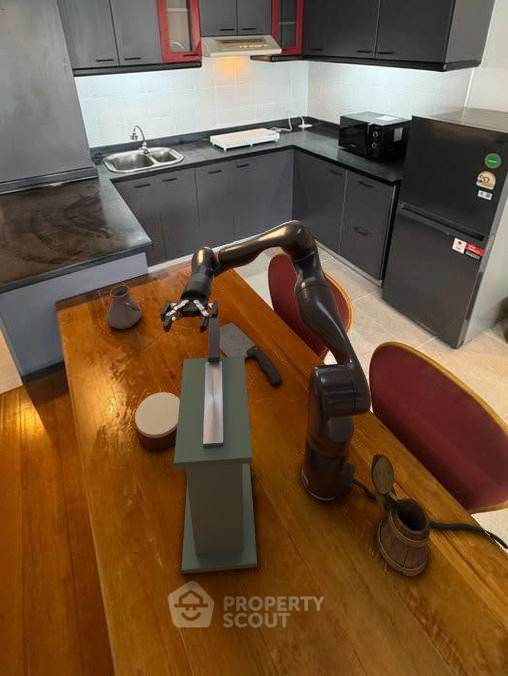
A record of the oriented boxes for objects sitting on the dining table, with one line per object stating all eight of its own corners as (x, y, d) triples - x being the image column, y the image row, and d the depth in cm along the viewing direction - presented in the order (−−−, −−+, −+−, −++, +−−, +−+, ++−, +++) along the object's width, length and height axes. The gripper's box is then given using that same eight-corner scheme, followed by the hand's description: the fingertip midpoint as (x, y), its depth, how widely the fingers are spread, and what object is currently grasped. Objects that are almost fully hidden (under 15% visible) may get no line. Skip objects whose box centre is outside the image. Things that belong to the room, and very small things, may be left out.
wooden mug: (373, 491, 83) (386, 438, 75) (434, 549, 74) (456, 496, 66) (348, 522, 78) (360, 469, 70) (411, 589, 68) (432, 537, 61)
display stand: (189, 458, 89) (178, 359, 75) (248, 454, 90) (249, 355, 76) (182, 574, 70) (166, 470, 56) (257, 567, 71) (259, 463, 57)
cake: (192, 417, 98) (191, 401, 96) (167, 459, 89) (164, 442, 86) (156, 402, 103) (154, 386, 100) (128, 439, 93) (125, 423, 91)
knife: (207, 325, 84) (206, 318, 83) (221, 325, 84) (221, 317, 83) (203, 447, 59) (202, 438, 58) (223, 446, 60) (223, 437, 59)
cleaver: (288, 379, 109) (289, 374, 108) (262, 397, 104) (262, 391, 103) (230, 322, 130) (230, 317, 129) (206, 334, 125) (206, 330, 124)
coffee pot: (102, 319, 132) (95, 284, 125) (134, 305, 138) (128, 271, 132) (127, 356, 117) (120, 319, 110) (161, 339, 123) (156, 302, 117)
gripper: (170, 280, 105) (152, 316, 90) (221, 280, 104) (212, 317, 89) (173, 303, 108) (156, 342, 93) (223, 303, 106) (214, 343, 91)
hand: (183, 329), depth 91 cm, fingers open, 8 cm apart
